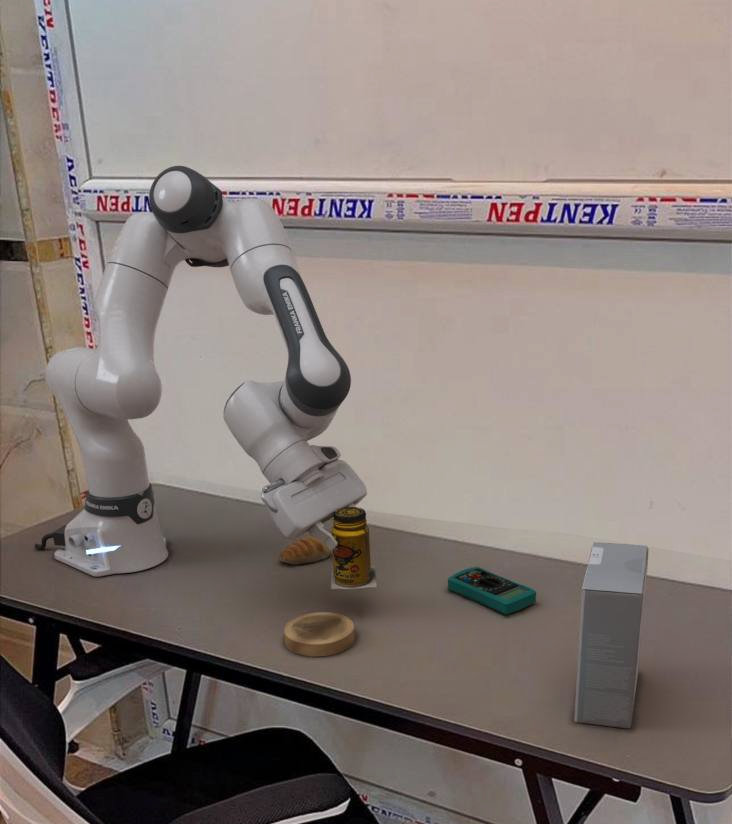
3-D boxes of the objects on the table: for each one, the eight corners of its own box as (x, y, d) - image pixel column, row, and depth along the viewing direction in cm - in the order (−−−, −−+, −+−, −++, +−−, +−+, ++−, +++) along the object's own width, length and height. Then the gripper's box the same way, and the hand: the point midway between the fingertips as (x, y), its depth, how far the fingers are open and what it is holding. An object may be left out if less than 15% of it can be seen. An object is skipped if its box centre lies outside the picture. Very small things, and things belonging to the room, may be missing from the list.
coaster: (270, 646, 151) (269, 634, 150) (311, 618, 159) (310, 606, 158) (329, 663, 146) (328, 650, 145) (367, 633, 154) (367, 620, 153)
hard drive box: (584, 667, 142) (593, 540, 133) (638, 673, 140) (651, 544, 131) (572, 723, 128) (581, 586, 120) (632, 730, 126) (645, 592, 117)
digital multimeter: (474, 577, 171) (475, 562, 170) (537, 604, 161) (538, 588, 160) (444, 590, 168) (444, 574, 166) (506, 618, 157) (507, 601, 156)
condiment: (331, 590, 155) (327, 519, 150) (331, 569, 163) (328, 501, 158) (376, 588, 156) (374, 517, 150) (374, 567, 163) (372, 499, 158)
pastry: (293, 570, 177) (291, 551, 176) (272, 560, 182) (271, 541, 180) (334, 556, 182) (333, 537, 181) (313, 547, 187) (311, 528, 186)
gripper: (266, 478, 146) (323, 550, 146) (341, 444, 161) (393, 509, 161) (245, 502, 150) (300, 572, 150) (320, 466, 166) (371, 529, 165)
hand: (349, 539), depth 155 cm, fingers closed on condiment, 6 cm apart
